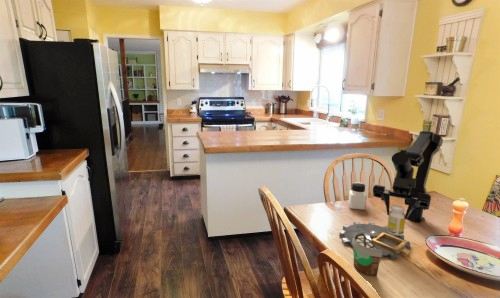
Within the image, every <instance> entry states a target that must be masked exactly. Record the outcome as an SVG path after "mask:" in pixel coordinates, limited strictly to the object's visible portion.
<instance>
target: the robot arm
mask: <svg viewBox="0 0 500 298" xmlns="http://www.w3.org/2000/svg"><path fill="white" fill-rule="evenodd" d="M443 142H444V138H443V137H442V136H441V135H439V134H437V133H435V132H434V131H427V130H421V131H419V135H418V137H417V138H416V139H415V140H414V142H413V143H412V144H411V146H407V147H405V148H404V149H400V151H398V152H395V153H394V154H393V155H392V156H391V163H392V166H393V167H394V170H395V171H396V174H395V177H394V179H393V183H392V186H391V188H392V190H390V189H386V186H385V185H380V184H374V185H373V187H372V195H373V197H374V198H379V199H381V201H383V202H384V204H385V208H386V214H387V216H389V212H390V205H391V204H390V203H391V199H390V198H391V197H395V198H399V199H404V205H405V206H406V205H407V209H406V212H405V220H410V221H413V222H416V223H422V222H423V221H424V220H425V219H426V217H423V214H424V211H427V210H429V208H430V205H431V199H432V196H431V195H430V194H429V193H428V190H427V187H426V185H427V181H428V178H429V174H430V170H431V166H432V161H433V158H434V155H436V154H437V153H438V152H439V151H440V149H441V147H442V145H443ZM414 167H416V168H417V170H416V174H415V178H414V172H415V168H414Z"/></svg>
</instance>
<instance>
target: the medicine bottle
mask: <svg viewBox="0 0 500 298" xmlns="http://www.w3.org/2000/svg"><path fill="white" fill-rule="evenodd" d="M365 190H366V184H365V183H362V182H352V185H351V190H349V192H348V206H349V209H351V210H352V209H354V210H362V211H363V210H365V211H366V207H367V197H368V196H367V195H366V193H365V192H366V191H365Z"/></svg>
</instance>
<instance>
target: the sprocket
mask: <svg viewBox="0 0 500 298" xmlns="http://www.w3.org/2000/svg"><path fill="white" fill-rule="evenodd" d="M387 227H388V225H385V226H380V225H377V224H375V223H374V222H368V223H361V222H359V221H354V222H353V224H350V225H349V224H344V225H343V226H342V229H341V230H339V237H342V238H341V243H342V244H343V245H344V246H350V247H351V248H352V251H353V252H354V246H353V245H352V240H353V237H354V236H355V234H356V233H359V232H364V235H365V236H366V237H367V238H368V239H369V240H370V241H372V243H373V244H374V245H375V247H376V248H377V249H378V250H382V257H381V258H389V260H392V261H394V260H398V259H399V256H401V255H402V256H404V257H407V256H408V255H409V254H410V248H411V242H410V241H407V240H405V235H404V233H403V234H402V235H394V234H391V233H389V232H388V230H387Z"/></svg>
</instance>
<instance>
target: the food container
mask: <svg viewBox="0 0 500 298" xmlns="http://www.w3.org/2000/svg"><path fill="white" fill-rule="evenodd" d="M352 245H353V246H354V251H353V267H354V269H355V270H356V271H357V272H359V273H360V274H362V275H364V276H368V277H374V278H375V277H378V272H379V268H380V267H379V266H380V262H381V258H383V257H382V250H378V249H377V248H376V247H375V245H374V244H373V243H372V241H370V240H369V239H368V238H367V237H366V236H365V235H364V232H359V233H356V234H355V236H354V237H353V240H352Z"/></svg>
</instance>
